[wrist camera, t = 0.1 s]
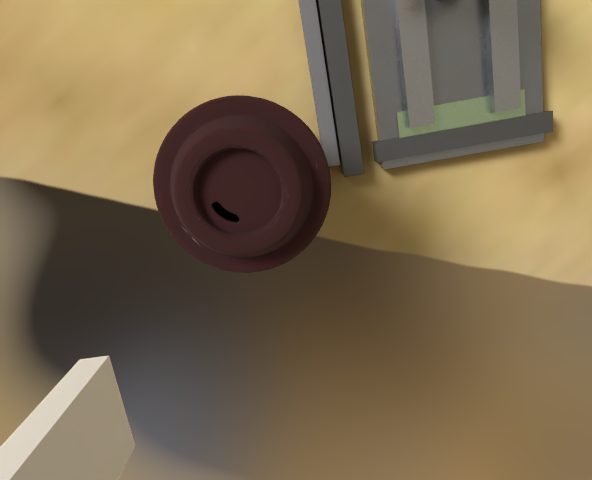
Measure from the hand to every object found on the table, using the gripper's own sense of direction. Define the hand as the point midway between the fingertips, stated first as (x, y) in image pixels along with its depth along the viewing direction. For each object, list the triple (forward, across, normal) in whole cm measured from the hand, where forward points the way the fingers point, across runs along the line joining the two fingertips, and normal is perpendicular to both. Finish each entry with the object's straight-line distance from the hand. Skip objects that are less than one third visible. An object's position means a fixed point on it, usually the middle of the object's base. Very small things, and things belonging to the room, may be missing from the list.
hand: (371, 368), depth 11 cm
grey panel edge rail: (+28, +12, +3) cm, 31 cm away
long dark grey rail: (+28, +3, +13) cm, 31 cm away
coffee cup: (+28, -4, +3) cm, 29 cm away
